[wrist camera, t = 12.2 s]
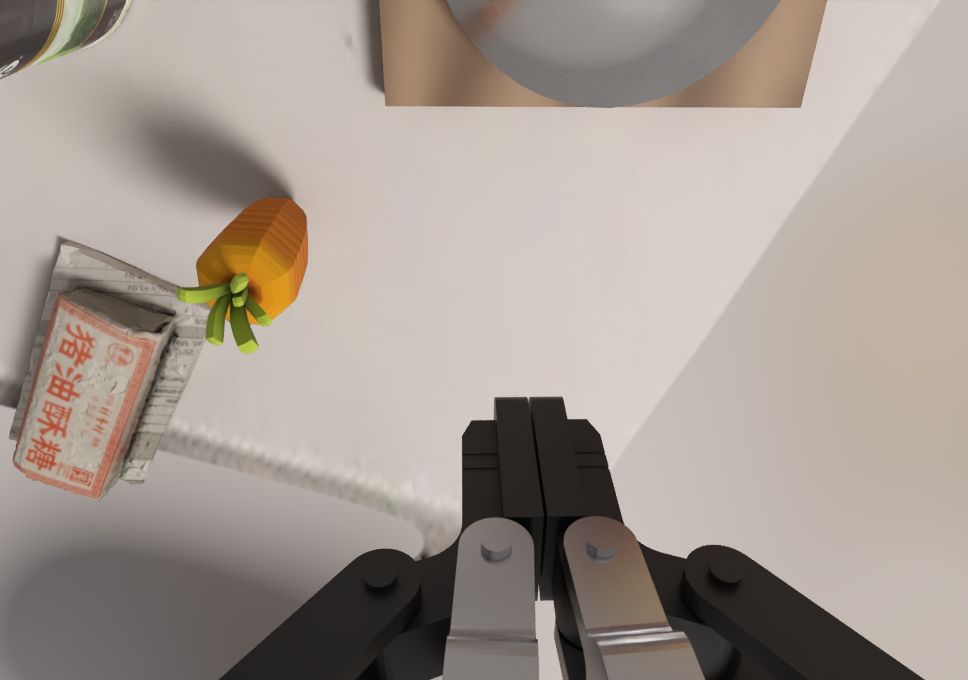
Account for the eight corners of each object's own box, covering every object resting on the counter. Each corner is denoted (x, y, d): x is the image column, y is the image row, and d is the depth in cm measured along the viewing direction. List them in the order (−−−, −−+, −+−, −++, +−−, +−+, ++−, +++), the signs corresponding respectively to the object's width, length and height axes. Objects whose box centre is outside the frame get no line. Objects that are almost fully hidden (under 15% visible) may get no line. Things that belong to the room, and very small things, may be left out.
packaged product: (124, 521, 51) (-22, 473, 48) (149, 474, 55) (16, 428, 52) (200, 338, 43) (29, 267, 40) (223, 300, 47) (70, 233, 44)
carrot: (233, 181, 42) (134, 301, 29) (308, 155, 41) (241, 266, 28) (272, 252, 44) (196, 391, 32) (343, 229, 44) (295, 361, 31)
